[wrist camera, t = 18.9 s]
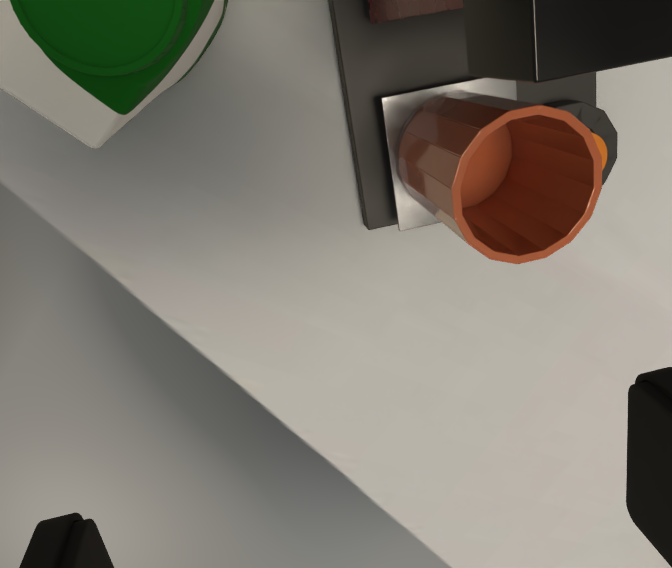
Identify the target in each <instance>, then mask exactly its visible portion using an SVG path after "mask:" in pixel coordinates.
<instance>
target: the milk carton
mask: <svg viewBox="0 0 672 568" xmlns="http://www.w3.org/2000/svg"><path fill="white" fill-rule="evenodd" d="M227 3H228V0H0V88H1V89H2V90H4V91H5V92H7V93H8V94H10V95H11V96H13V97H14V98H16V99H17V100H19V101H20V102H22V103H23V104H25V105H26V106H28V107H29V108H31V109H33V110H34V111H36V112H37V113H39V114H40V115H42V116H43V117H45V118H46V119H48V120H49V121H51V122H52V123H54V124H55V125H57V126H58V127H60V128H61V129H63V130H64V131H66V132H68V133H69V134H71V135H72V136H74V137H75V138H77V139H78V140H80V141H81V142H83V143H84V144H86V145H87V146H89V147H90V148H96V149H97V148H100V147H101V146H102V145H103V144H104V143H105V142H106V141H107V140H108V139H109V138H110V137H112V136H113V135H114V134H115V133H116V132H117V131H118V130H119V129H121V128H122V127H123V126H124V125H125V124H126V123H127V122H128V121H130V120H131V119H132V118H133V117H134V116H135V115H136V114H137V113H139V112H140V111H141V110H142V109H143V108H144V107H145V106H147V105H148V104H149V103H150V102H151V101H152V100H153V99H154V98H156V97H157V96H158V95H159V94H160V93H161V92H163V91H164V90H166V89H168V88H169V87H171V86H172V85H174V84H176V83H177V82H179V81H180V80H181V79H183V78H184V77H185V76H186V75H187V73H188V72H189V71H190V70H191V69H192V68H193V67H194V65H195V64H196V63H197V62H198V61H199V59H200V58H201V56H202V55H203V54H204V52H205V51H206V49H207V48H208V46H209V45H210V43H211V42H212V40H213V38H214V36H215V35H216V33H217V31H218V29H219V27H220V25H221V23H222V21H223V18H224V15H225V11H226V7H227Z"/></svg>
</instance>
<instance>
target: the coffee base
mask: <svg viewBox="0 0 672 568" xmlns="http://www.w3.org/2000/svg"><path fill="white" fill-rule="evenodd" d="M329 5H330V11H331V18H332V24H333V30H334V37H335V43H336V49H337V56H338V62H339V68H340V74H341V81H342V87H343V93H344V100H345V106H346V112H347V119H348V125H349V131H350V137H351V144H352V150H353V156H354V163H355V169H356V175H357V182H358V188H359V194H360V200H361V207H362V213H363V219H364V225H365V226H366V227H367V229H368V230H371V229H376V228H380V227H385V226H390V225H394V224H398V220H397V213H396V205H395V198H394V191H393V183H392V176H391V169H390V161H389V154H388V147H387V139H386V132H385V125H384V117H383V110H382V103H381V98H382V97H387V96H392V95H397V94H402V93H407V92H413V91H418V90H423V89H428V88H433V87H438V86H443V85H448V84H453V83H458V82H464V81H469V80H474V79H479V78H483V77H474V76H469V74H468V62H467V50H466V37H465V25H464V13H463V8H460V9H454V10H448V11H443V12H437V13H431V14H426V15H420V16H414V17H409V18H403V19H397V20H392V21H386V22H380V23H375V24H371V21H370V13H369V6H368V0H329ZM516 90H517V100H518V101H523V102H529V103H535V104H540V105H544V106H549V107H553V108H557V109H561V110H565V111H568V112H570V113H571V114H572V115H573V116H575V117H576V118H577V119H578V120H579V121H580V122H582V123H583V124H584V125H585V126H586V127H587V128H589V129H590V131H591V133H595V134H597V135H598V136H600V137H601V138H602V139H603V141H604V142H605V144H606V147H607V161H606V164H605V167H604V169H603V170H602V185H603V184H604V183H605V181H606V179H607V177H608V175H609V173H610V171H611V169H612V167H613V165H614V163H615V161H616V159H617V132H616V130H615V128H614V127H613V125H612V123H611V121H610V120H609V118H608V116H607V115H606V113H605V112H604V110H601V109H599V108H597V107H596V72H592V73H587V74H582V75H577V76H572V77H567V78H562V79H557V80H552V81H547V82H542V83H537V84H536V83H527V82H518V81H516Z"/></svg>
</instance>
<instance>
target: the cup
mask: <svg viewBox="0 0 672 568" xmlns="http://www.w3.org/2000/svg"><path fill="white" fill-rule="evenodd" d="M399 169H400V174H401V177H402V180H403V182H404V184H405V186H406V188H407V190H408V191H409V193H410V194H411V195H412V196H413V198H414V199H415V201H416V202H418V203H419V204H420V205H421V206H423V207H424V208H425V209H426V210H427V211H429V212H430V213H431V214H432V215H434V216H435V217H436V218H437V219H438V220H440V221H441V222H442V223H443V224H444V225H446V226H447V227H448V228H449V229H451V230H452V231H453V232H454V233H455V234H457V235H458V236H459V237H460V238H461V239H463V240H464V241H465V242H466V243H468V244H469V245H470V246H472V247H473V248H475V249H476V250H477V251H479V252H480V253H482V254H483V255H485V256H486V257H487V258H489V259H491V260H497V261H502V262H508V263H514V264H520V263H525V262H529V261H534V260H538V259H543V258H546V257H548V256H549V255H551V254H553V253H554V252H556V251H557V250H559V249H560V248H562V247H563V246H565V245H567V244H568V243H570V242H571V241H572V240H573V239H574V238H575V236H576V235H577V234H578V233H579V231H580V230H581V229H582V228H583V226H584V225H585V224H586V223H587V221H588V220H589V219H590V218H591V216H592V213H593V211H594V208H595V205H596V202H597V200H598V197H599V194H600V191H601V189H602V188H601V187H602V156H601V154H600V151H599V149H598V147H597V144H596V142H595V140H594V137H593V135H592V133H591V131H590V129H589V128H587V127H586V126H585V125H584V124H583V123H582V122H580V121H579V120H578V119H577V118H576V117H575V116H573V115H572V114H571V113H570V112H568V111H565V110H561V109H557V108H553V107H549V106H544V105H540V104H535V103H529V102H523V101H518V100H512V99H507V98H501V97H496V96H490V95H485V94H479V93H473V92H455V93H449V94H446V95H443V96H440V97H438V98H436V99H434V100H432V101H430V102H429V103H427V104H426V105H425V106H424V107H422V108H421V109H420V110H419V111H418V112H417V113H416V114H415V116H414V117H413V118H412V119H411V121H410V123H409V124H408V126H407V128H406V130H405V132H404V134H403V137H402V140H401V144H400V149H399Z"/></svg>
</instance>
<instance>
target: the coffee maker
mask: <svg viewBox="0 0 672 568" xmlns="http://www.w3.org/2000/svg"><path fill="white" fill-rule="evenodd" d="M368 6H369V13H370V21H371V24H375V23H380V22H386V21H392V20H397V19H403V18H409V17H414V16H420V15H426V14H431V13H437V12H443V11H448V10H454V9H460V8H463V13H464V25H465V37H466V50H467V62H468V74H469V76H474V77H483V78H479V79H474V80H469V81H464V82H458V83H453V84H448V85H443V86H438V87H433V88H428V89H423V90H418V91H413V92H407V93H402V94H397V95H392V96H387V97H382V98H381V103H382V110H383V117H384V125H385V132H386V139H387V147H388V154H389V161H390V169H391V176H392V183H393V191H394V198H395V205H396V213H397V220H398V227H399V231H403V230H408V229H412V228H417V227H421V226H426V225H431V224H435V223H440V222H441V221H440V220H438V219H437V218H436V217H435V216H434V215H432V214H431V213H430V212H429V211H427V210H426V209H425V208H424V207H423V206H421V205H420V204H419V203H418V202H416V201H415V199H414V198H413V196H412V195H411V194H410V193H409V191H408V190H407V188H406V186H405V184H404V182H403V180H402V177H401V174H400V169H399V149H400V144H401V140H402V137H403V134H404V132H405V130H406V128H407V126H408V124H409V123H410V121H411V119H412V118H413V117H414V116H415V114H416V113H417V112H418V111H419V110H420V109H421V108H422V107H424V106H425V105H426V104H427V103H429V102H430V101H432V100H434V99H436V98H438V97H440V96H443V95H446V94H449V93H455V92H473V93H479V94H485V95H490V96H496V97H501V98H507V99H512V100H517V90H516V81H518V82H527V83H536V84H537V83H542V82H547V81H552V80H557V79H562V78H567V77H572V76H577V75H582V74H587V73H592V72H597V71H602V70H607V69H612V68H617V67H622V66H627V65H632V64H637V63H642V62H648V61H653V60H658V59H663V58H668V57H672V0H368Z"/></svg>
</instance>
